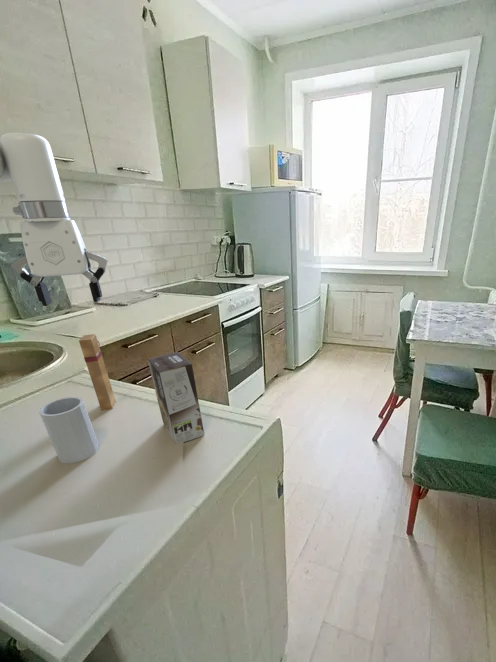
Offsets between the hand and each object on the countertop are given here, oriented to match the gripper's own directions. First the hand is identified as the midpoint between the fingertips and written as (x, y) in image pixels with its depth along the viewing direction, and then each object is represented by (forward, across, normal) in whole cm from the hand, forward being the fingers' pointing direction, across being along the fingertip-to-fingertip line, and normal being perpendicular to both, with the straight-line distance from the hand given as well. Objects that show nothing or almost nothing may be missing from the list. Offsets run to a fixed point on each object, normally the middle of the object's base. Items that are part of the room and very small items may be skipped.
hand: (72, 302), depth 75 cm
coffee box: (+26, +19, -16) cm, 36 cm away
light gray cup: (+26, -1, -19) cm, 32 cm away
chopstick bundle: (+26, +1, 0) cm, 26 cm away
